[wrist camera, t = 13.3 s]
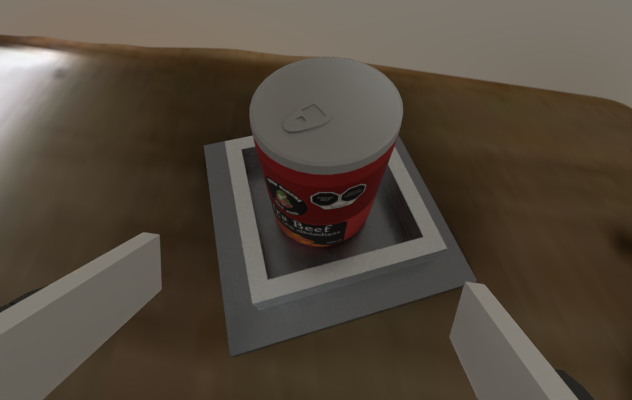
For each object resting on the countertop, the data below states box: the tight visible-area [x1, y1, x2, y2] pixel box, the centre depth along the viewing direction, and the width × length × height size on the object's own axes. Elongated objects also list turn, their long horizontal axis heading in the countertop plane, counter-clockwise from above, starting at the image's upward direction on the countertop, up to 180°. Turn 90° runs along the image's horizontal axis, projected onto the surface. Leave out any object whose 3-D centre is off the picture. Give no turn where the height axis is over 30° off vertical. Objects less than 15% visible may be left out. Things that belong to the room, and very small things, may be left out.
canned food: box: [250, 57, 403, 247], centre depth 20 cm, size 8×8×11 cm
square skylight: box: [204, 135, 477, 357], centre depth 24 cm, size 18×18×4 cm
